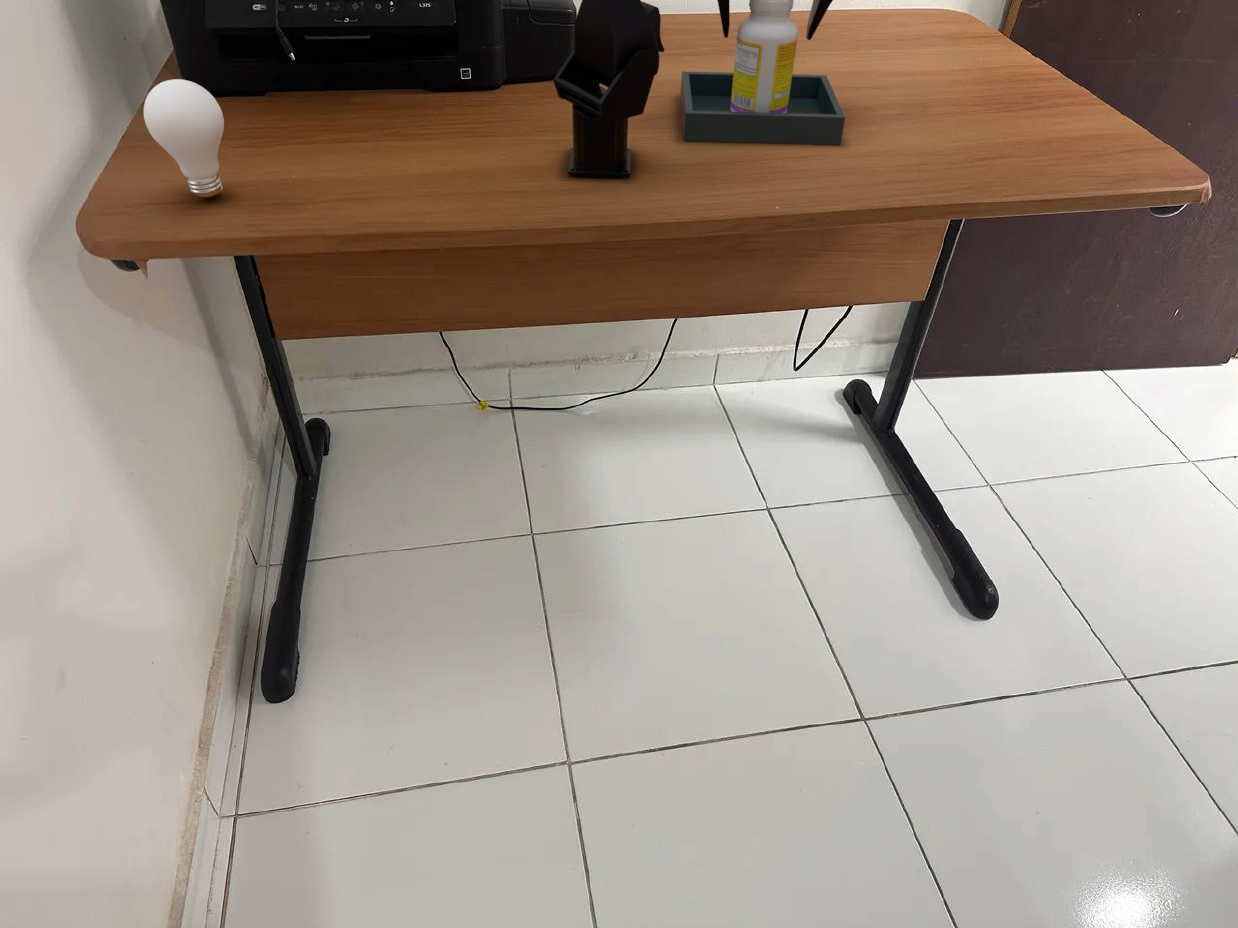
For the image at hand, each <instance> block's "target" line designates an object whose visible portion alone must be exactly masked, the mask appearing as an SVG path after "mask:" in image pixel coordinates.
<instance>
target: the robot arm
mask: <svg viewBox="0 0 1238 928" xmlns="http://www.w3.org/2000/svg"><path fill="white" fill-rule="evenodd" d="M716 1H717V5H718V11H719V17H720V21H721V22H720V23H721V27H722V34H723V37H724V38H726V39H728V38H729V31H730V26H731V25H730V23H731V22H730V20H731V19H730V16H731V15H730V14H731V13H730V0H716ZM833 1H834V0H812V4H811V8H810V12H809V16H808V20H807V27H806V33H805V34H806V35H805V37H806V40H807V41H811V40H812V39H813V37H814V35H815V33H816V31H817V29H818V27H819V26H820V24H821V22H822V20H823V18H824V17H825V15H826V12H827V11H828V9H829V7H830V6H831V4H832V3H833ZM577 11H578V12H577V14H576V18H575V20H574V48H573V49H572V51H571V52H570V54H569V55H568V57H567V58H566V60H565V61H564V63H563V64H562V66H561V67H560V69H559V70H558V72H557V73H556V74H555V76H554V77H553V85H554V87H555V90H556V93H557V96H558V98H559V99H560V100H565V101H567V102H568V103H571V104H572V106H571V107H572V111H571V112H572V147H571V148H570V154H569V159H568V166H567V175H568V176H571V177H594V178H595V177H600V178H602V177H603V178H605V177H606V178H629V177H631V171H632V170H631V169H632V168H631V165H632V149H631V148H628V137H629V135H628V134H629V119H630V118H634V117H637V116H641V115H643V114H644V111H645V108H646V105H647V102H648V99H649V95H650V93H651V89H652V86H653V82H654V78H655V76H656V75H657V74H658V72H659V68H660V53H664V52H665V47H664V44H663V42H662V37H661V21H662V19H661V17H662V16H661V13H660V8H659V7H657V6H655V5H653V4H650V3H647V2H645V1H642V0H581V3H580V5H579V7H578V10H577ZM603 86H604V87H603ZM605 87H606V88H605Z"/></svg>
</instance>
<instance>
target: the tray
mask: <svg viewBox="0 0 1238 928" xmlns="http://www.w3.org/2000/svg"><path fill="white" fill-rule="evenodd" d="M733 75H734V72H722V71H721V72H719V71H717V72H716V71H714V72H713V71H684V70H683V71H681V79H680V96H679V98H680V109H681V121H682V131H683V132H682V133H683V141H684V142H688V141H689V142H715V143H716V142H717V143H718V142H720V143H721V142H722V143H723V142H724V143H725V142H726V143H753V144H754V143H755V144H790V145H791V144H792V145H793V144H794V145H795V144H796V145H827V146H828V145H830V146H831V145H832V146H841V142H842V138H843V132H844V129H845V122H846V115H845V114H844V111H843V109H842V107H841V105H840V102H839V99H838V98H837V96H836V94H835V92H834V89H833V87H832V85H831V83H830V80H829V78H828V75H826V74H792V80H791V87H790V95H789V102H788V108H787V113H760V112H731V96H732V86H733Z"/></svg>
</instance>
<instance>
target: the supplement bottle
mask: <svg viewBox="0 0 1238 928" xmlns="http://www.w3.org/2000/svg"><path fill="white" fill-rule="evenodd" d="M748 2H749V3H748V7H749V11H750V14H749V16H747V17H745V18H744V19H743V20H741V22H740V23H739V25H738V28H737V35H736V45H735V55H734V57H735V58H734V66H733V73H734V75H733V86H732V96H731V112H760V113H787V108H788V102H789V95H790V87H791V80H792V74H793V73H794V66H795V58H796V50H797V44H798V36H799V28H798V26H797V24H796V23H795V21H793V19H791V18H790V15H791V14H790V13H791V12H792V10H793V8H794V0H749V1H748Z"/></svg>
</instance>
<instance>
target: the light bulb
mask: <svg viewBox="0 0 1238 928" xmlns="http://www.w3.org/2000/svg"><path fill="white" fill-rule="evenodd" d="M143 119H144V123H145V126H146V128H147V131H148V132H149V134H150V136H151V137H152V139H153V140H154V141H155V142H156V143H157V144H158V145H160V147H161V148H162V149H164V150H165V151H166V153H168V154H169V156H171V157H172V158H173V160H174V161H175V162H176V163H177V165H178V167H179V169H180V171H181V173H182V175H184V176H185V177H186V178H187V179H186V182H187V183H188V187H189V192H191V193H192V194H193V196H196V197H199V198H203V199H212V198H214V197H216V196H217V195H219V194H220V193H221V192H222V191H223V188H224V186H223V182H222V180H221V179H222V178H221V177H220V175H219V174H218V172H219V170H220V164H219V158H218V155H219V149H220V144H221V141H222V138H223V134H224V130H225V120H224V113H223V112H222V109H221V106H220V105H219V103H218V101H217V100H216V98H215V97H214V96H213V95H212V94H211V93H210V92H209V90H207V89H206V88H204V87H203V86H202V85H200V84H198V83H196V82H194V81H190V80H186V79H183V78H177V79H175V78H173V79H167V80H164V81H162V82H160V83H158V84H156V85H155V86H154V87H153V88H152V89H151V90H150V91H149V92H148V94H147V96H146V98H145V100H144V105H143Z"/></svg>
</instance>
